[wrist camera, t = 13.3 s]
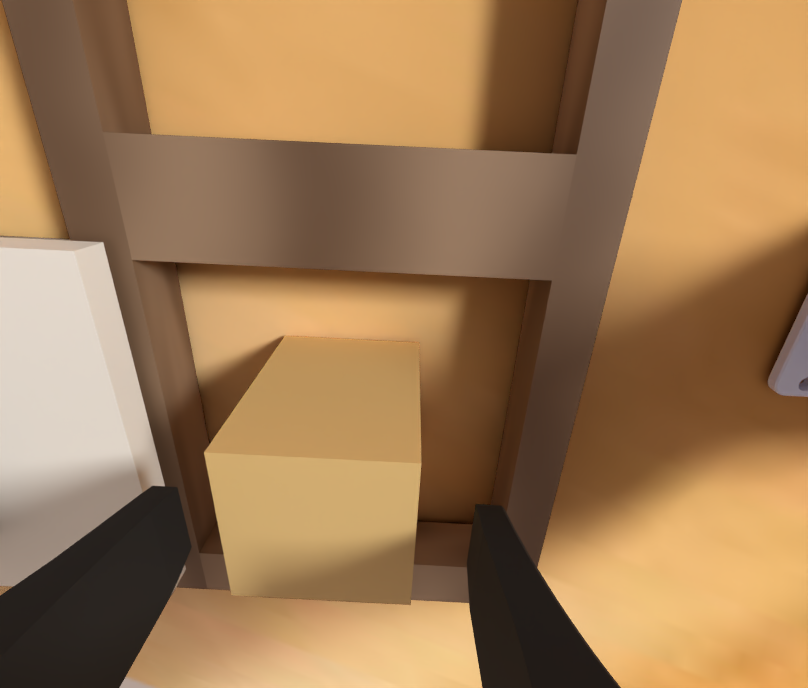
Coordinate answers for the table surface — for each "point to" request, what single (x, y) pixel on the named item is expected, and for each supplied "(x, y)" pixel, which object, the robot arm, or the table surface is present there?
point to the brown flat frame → (350, 235)
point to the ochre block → (322, 473)
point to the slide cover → (64, 403)
